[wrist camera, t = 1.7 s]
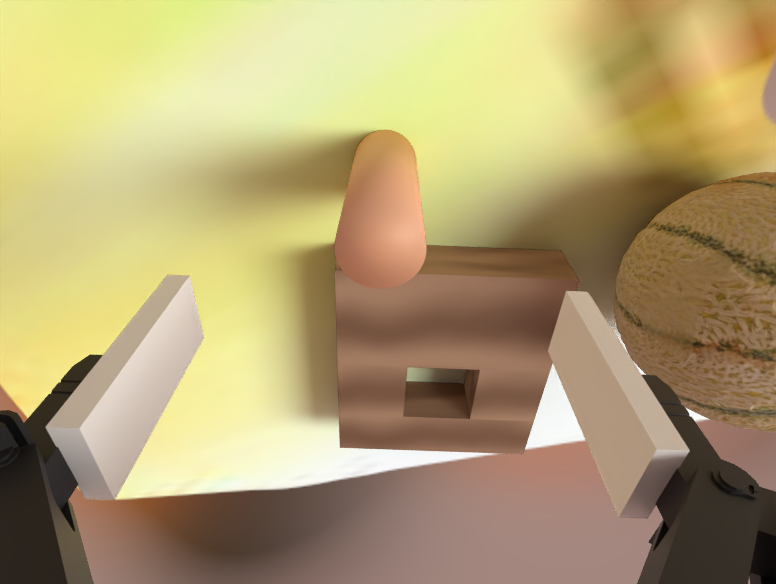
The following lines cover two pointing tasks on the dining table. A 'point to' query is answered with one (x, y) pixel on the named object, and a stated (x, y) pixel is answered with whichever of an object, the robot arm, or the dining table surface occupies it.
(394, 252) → the peg
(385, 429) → the socket block
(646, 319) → the cantaloupe
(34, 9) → the dining table surface
